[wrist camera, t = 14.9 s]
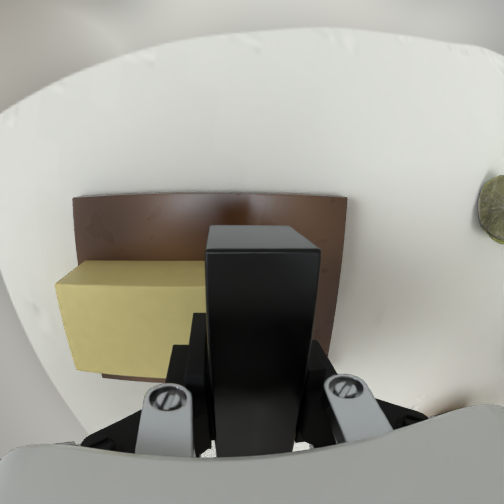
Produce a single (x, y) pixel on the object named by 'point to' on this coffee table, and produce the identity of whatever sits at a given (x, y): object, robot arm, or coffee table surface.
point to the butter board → (196, 229)
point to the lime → (492, 208)
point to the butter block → (130, 313)
